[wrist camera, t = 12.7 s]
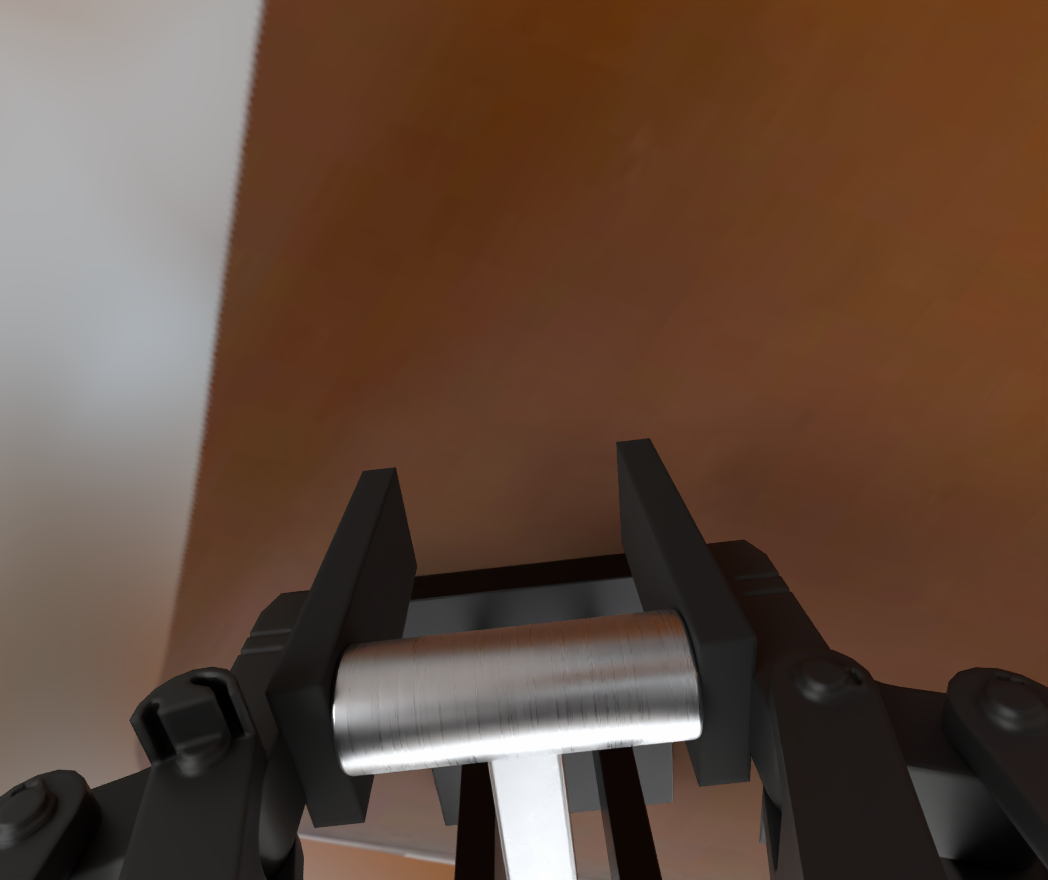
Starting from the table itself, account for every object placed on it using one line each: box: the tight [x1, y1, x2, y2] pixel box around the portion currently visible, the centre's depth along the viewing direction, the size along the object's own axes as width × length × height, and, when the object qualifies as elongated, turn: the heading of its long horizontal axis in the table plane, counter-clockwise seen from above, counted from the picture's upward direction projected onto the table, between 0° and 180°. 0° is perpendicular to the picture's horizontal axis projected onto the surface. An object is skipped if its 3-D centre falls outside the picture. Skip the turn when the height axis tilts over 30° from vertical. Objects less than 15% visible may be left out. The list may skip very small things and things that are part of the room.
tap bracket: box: [402, 554, 673, 880], centre depth 17 cm, size 11×9×14 cm
